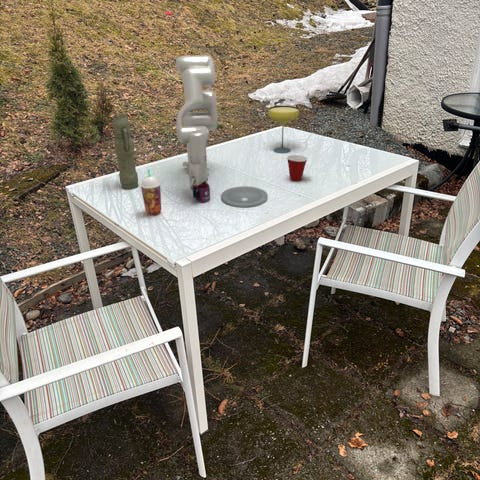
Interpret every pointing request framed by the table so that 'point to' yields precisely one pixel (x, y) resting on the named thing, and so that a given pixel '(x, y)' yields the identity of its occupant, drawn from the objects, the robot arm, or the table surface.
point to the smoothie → (151, 194)
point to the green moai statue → (125, 153)
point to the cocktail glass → (283, 120)
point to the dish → (244, 196)
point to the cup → (204, 192)
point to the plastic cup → (296, 166)
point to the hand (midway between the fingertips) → (200, 195)
